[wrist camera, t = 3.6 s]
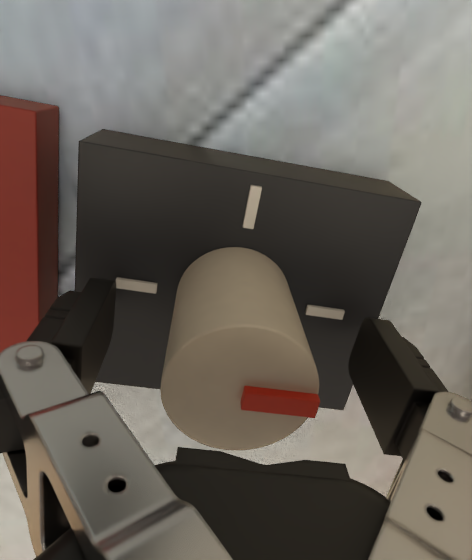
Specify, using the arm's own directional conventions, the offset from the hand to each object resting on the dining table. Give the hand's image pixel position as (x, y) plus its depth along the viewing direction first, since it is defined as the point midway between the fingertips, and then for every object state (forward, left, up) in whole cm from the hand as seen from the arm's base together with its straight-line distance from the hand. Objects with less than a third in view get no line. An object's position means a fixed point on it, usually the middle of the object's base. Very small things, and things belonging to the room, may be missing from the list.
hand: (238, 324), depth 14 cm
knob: (0, 0, -2) cm, 2 cm away
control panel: (0, 0, -5) cm, 5 cm away
